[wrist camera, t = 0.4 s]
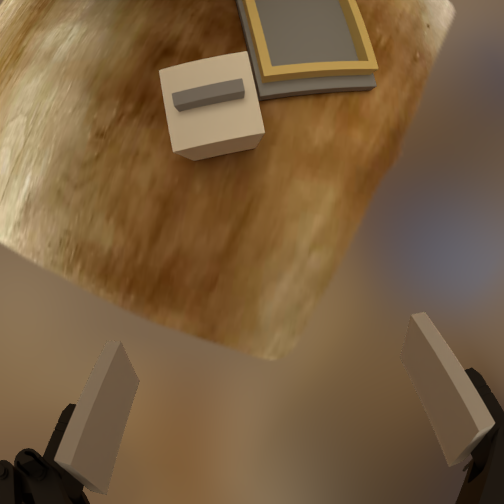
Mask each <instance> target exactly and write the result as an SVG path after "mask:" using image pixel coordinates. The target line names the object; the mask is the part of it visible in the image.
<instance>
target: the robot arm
mask: <svg viewBox="0 0 504 504" xmlns="http://www.w3.org/2000/svg"><path fill="white" fill-rule="evenodd" d="M400 359H401V361H402V363H403V365H404V367H405V369H406V371H407V373H408V375H409V377H410V379H411V381H412V383H413V385H414V388H415V390H416V392H417V394H418V396H419V398H420V400H421V402H422V405H423V407H424V409H425V411H426V413H427V416H428V418H429V420H430V422H431V425H432V427H433V429H434V432H435V434H436V436H437V439H438V441H439V443H440V446H441V448H442V451H443V453H444V455H445V458H446V460H447V463H448V466H449V467H450V466H452V465H455V464H457V463H459V462H461V461H464V460H465V459H466V458H467V457H468V456H469V454H470V453H471V455H472V457H473V459H472V460H471V461H470V462H469V463H468V464H467V465H466V466H465V467H464V469H463V471H465V470H466V469H467V468H468V467H469V468H468V471H467V474H466V477H465V480H464V483H463V485H462V488H461V491H460V493H459V496H458V498H457V501H456V503H455V504H504V411H503V410H502V408H501V406H500V405H499V403H498V401H497V399H496V398H495V396H494V395H493V393H491V390H490V388H489V386H488V385H486V382H485V380H484V379H483V377H482V376H481V375H480V374H479V373H478V372H477V371H476V370H474V369H473V368H470V369H466V370H464V369H463V367H462V366H461V364H460V363H459V361H458V360H457V358H456V357H455V355H454V354H453V352H452V351H451V349H450V348H449V346H448V345H447V343H446V342H445V340H444V339H443V337H442V336H441V334H440V333H439V331H438V330H437V329H436V327H435V326H434V324H433V323H432V321H431V320H430V319H429V317H428V316H427V314H426V313H425V312H422V313H417V314H411V316H410V320H409V325H408V329H407V333H406V337H405V341H404V345H403V348H402V352H401V356H400ZM138 384H139V379H138V377H137V375H136V373H135V371H134V369H133V367H132V364H131V362H130V360H129V358H128V356H127V354H126V352H125V350H124V347H123V345H122V343H121V341H107V342H106V344H105V346H104V348H103V350H102V352H101V354H100V356H99V358H98V360H97V362H96V364H95V366H94V368H93V370H92V372H91V375H90V377H89V379H88V381H87V383H86V385H85V387H84V389H83V392H82V394H81V396H80V398H79V400H78V403H77V405H76V404H69V405H68V406H67V407H66V408H65V409H64V410H63V411H62V414H61V416H60V418H59V420H58V423H57V425H56V427H55V431H54V432H53V434H52V436H51V439H50V441H49V443H48V446H47V448H46V451H45V453H44V455H43V457H41V455H40V454H39V453H37V452H36V451H35V450H33V449H30V448H28V449H23V450H22V451H20V452H19V453H18V454H17V456H16V458H15V461H14V466H13V465H12V464H11V463H10V462H8V461H6V460H1V461H0V504H90V503H89V501H88V499H87V497H86V495H85V493H84V492H83V491H82V490H83V486H85V487H86V488H88V489H89V490H90V491H93V492H97V493H101V494H105V495H107V492H108V488H109V483H110V480H111V476H112V472H113V468H114V464H115V461H116V457H117V454H118V450H119V447H120V443H121V439H122V436H123V433H124V429H125V426H126V422H127V419H128V416H129V413H130V409H131V406H132V403H133V400H134V397H135V394H136V390H137V387H138Z"/></svg>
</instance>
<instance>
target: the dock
mask: <svg viewBox="0 0 504 504" xmlns="http://www.w3.org/2000/svg"><path fill="white" fill-rule="evenodd" d="M236 4H237V8H238V12H239V16H240V20H241V24H242V29H243V33H244V37H245V41H246V45H247V50H248V54H249V58H250V62H251V67H252V71H253V76H254V80H255V85H256V89H257V94H258V98H259V101H261V100H267V99H274V98H281V97H289V96H297V95H307V94H317V93H329V92H343V91H363V90H371V89H373V88H375V87H376V82H375V78H374V75H373V72H375V71H376V70H378V69H379V68H378V65H377V61H376V58H375V55H374V52H373V48H372V45H371V42H370V39H369V36H368V33H367V30H366V27H365V24H364V22H363V19H362V16H361V13H360V11H359V8H358V6H357V3H356V1H355V0H236Z"/></svg>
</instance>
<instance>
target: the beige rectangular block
mask: <svg viewBox="0 0 504 504" xmlns="http://www.w3.org/2000/svg"><path fill="white" fill-rule="evenodd" d="M159 74H160V80H161V87H162V93H163V99H164V105H165V111H166V117H167V122H168V128H169V133H170V139H171V144H172V149H173V152H174V153H176V154H179V155H181V156H184V157H186V158H188V159H191V160H193V161H196V160H201V159H205V158H210V157H214V156H219V155H224V154H229V153H234V152H239V151H244V150H249V149H255V148H256V146H257V145H258V143H259V142H260V140H261V138H262V137H263V135H264V134H265V130H264V125H263V121H262V116H261V111H260V106H259V102H258V97H257V93H256V88H255V83H254V79H253V74H252V70H251V66H250V61H249V57H248V53H247V51H245V52H239V53H233V54H227V55H222V56H216V57H211V58H206V59H202V60H197V61H193V62H188V63H184V64H180V65H176V66H172V67H169V68H165V69H161V70H159Z"/></svg>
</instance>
